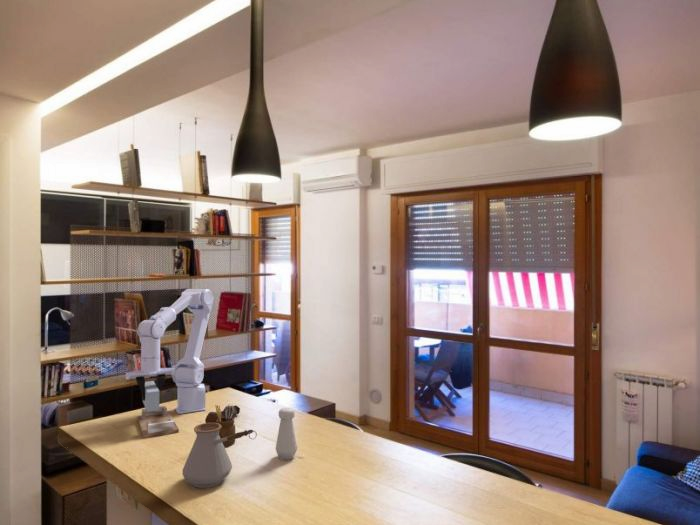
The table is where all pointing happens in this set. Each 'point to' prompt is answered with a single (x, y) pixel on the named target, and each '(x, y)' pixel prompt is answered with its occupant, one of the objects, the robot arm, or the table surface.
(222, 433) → the utensil holder
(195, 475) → the coffee pot
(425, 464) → the table surface
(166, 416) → the frame
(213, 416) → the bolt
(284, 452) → the salt shaker
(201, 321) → the robot arm
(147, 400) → the slat
